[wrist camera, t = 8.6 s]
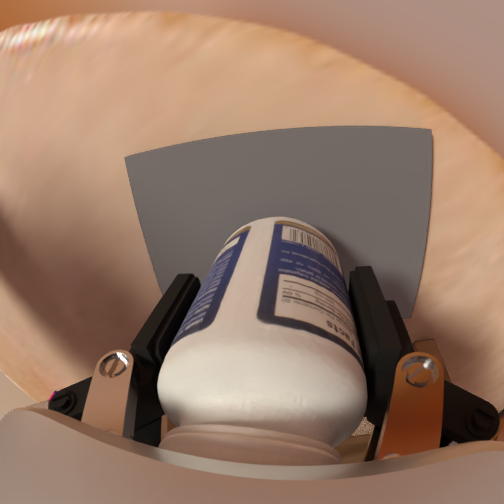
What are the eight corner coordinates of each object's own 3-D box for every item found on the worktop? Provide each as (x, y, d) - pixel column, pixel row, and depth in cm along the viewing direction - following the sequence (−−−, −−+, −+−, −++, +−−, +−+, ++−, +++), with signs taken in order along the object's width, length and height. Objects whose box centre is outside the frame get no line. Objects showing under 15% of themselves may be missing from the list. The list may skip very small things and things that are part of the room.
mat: (128, 155, 12) (124, 157, 12) (427, 129, 9) (431, 129, 9) (175, 319, 16) (173, 323, 16) (408, 313, 14) (410, 318, 13)
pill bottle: (240, 324, 14) (188, 512, 5) (202, 229, 12) (61, 438, 3) (347, 307, 13) (368, 518, 4) (329, 200, 10) (397, 478, 2)
